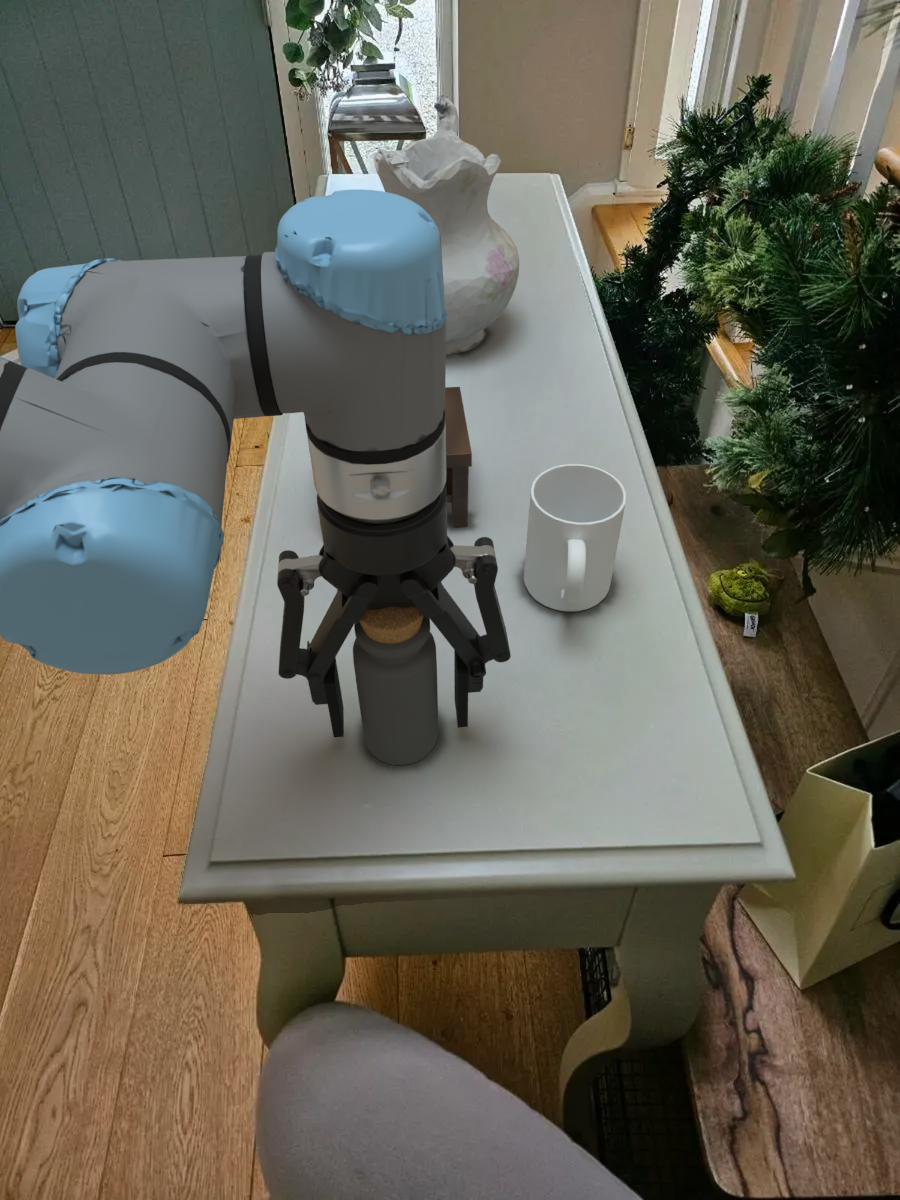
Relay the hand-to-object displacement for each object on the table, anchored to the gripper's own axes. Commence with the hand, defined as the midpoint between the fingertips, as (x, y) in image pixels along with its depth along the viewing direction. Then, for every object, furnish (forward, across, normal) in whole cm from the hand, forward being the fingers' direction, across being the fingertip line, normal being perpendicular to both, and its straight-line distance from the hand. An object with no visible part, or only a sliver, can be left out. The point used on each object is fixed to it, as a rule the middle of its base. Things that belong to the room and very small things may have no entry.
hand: (400, 717), depth 65 cm
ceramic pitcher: (+2, +8, +62) cm, 63 cm away
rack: (+2, +1, +29) cm, 29 cm away
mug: (+2, +16, +13) cm, 21 cm away
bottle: (+2, 0, 0) cm, 2 cm away
